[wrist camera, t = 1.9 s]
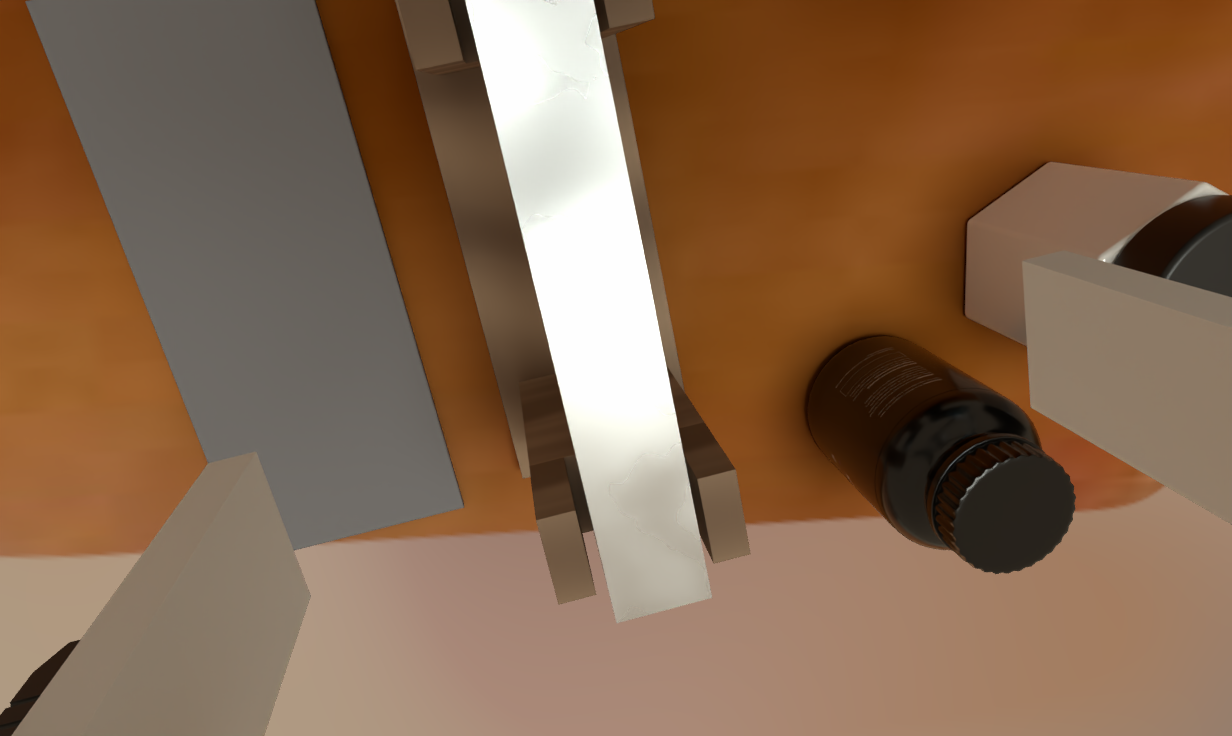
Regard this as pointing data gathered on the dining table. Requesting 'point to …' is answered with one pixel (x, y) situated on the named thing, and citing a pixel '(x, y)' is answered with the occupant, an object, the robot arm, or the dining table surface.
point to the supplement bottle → (940, 454)
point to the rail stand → (510, 298)
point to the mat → (257, 249)
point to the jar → (1095, 234)
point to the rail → (593, 293)
